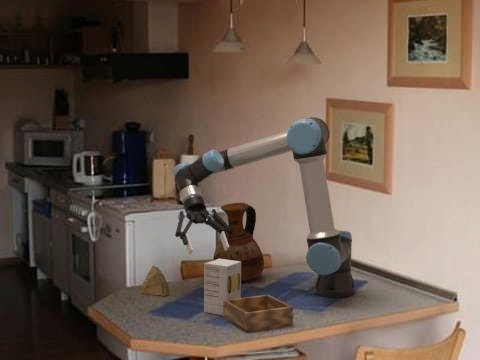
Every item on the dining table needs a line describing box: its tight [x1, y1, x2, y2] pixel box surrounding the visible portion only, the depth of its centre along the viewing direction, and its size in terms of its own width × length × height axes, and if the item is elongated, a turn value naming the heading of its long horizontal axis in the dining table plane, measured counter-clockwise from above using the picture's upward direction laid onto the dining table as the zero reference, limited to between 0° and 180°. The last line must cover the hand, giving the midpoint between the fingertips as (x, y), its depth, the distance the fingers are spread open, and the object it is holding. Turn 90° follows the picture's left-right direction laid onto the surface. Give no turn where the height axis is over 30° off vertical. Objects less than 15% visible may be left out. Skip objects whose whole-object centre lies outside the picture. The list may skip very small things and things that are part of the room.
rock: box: [139, 265, 170, 297], centre depth 293 cm, size 11×9×10 cm
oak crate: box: [222, 294, 294, 333], centre depth 261 cm, size 17×17×6 cm
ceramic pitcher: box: [212, 202, 265, 282], centre depth 316 cm, size 20×20×30 cm
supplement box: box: [203, 259, 242, 316], centre depth 272 cm, size 10×9×17 cm
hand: (209, 250), depth 281 cm, fingers open, 13 cm apart
